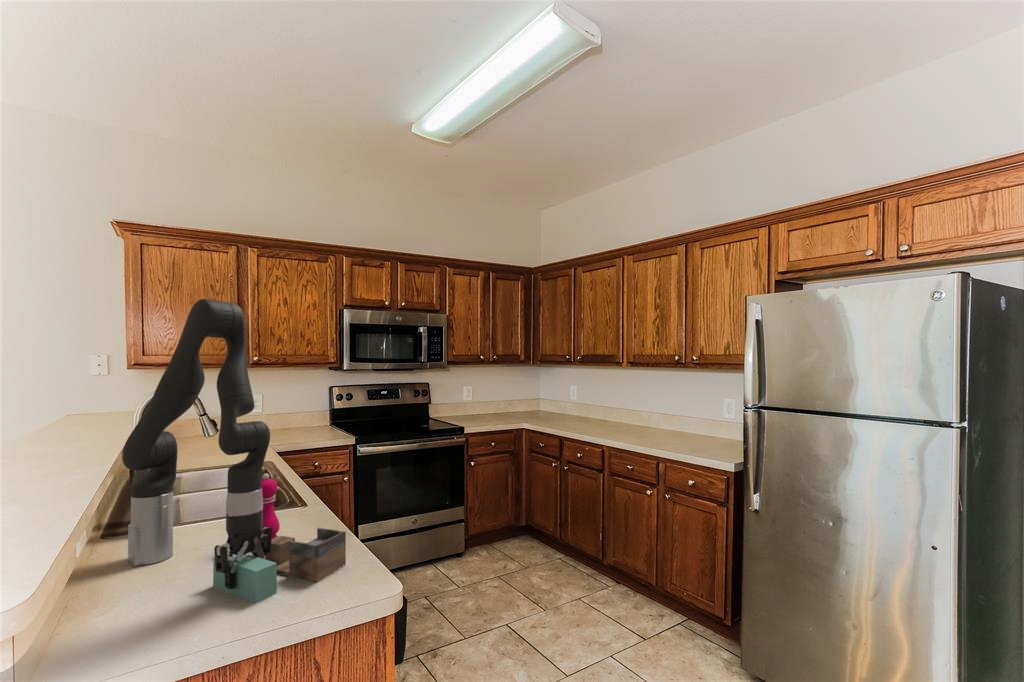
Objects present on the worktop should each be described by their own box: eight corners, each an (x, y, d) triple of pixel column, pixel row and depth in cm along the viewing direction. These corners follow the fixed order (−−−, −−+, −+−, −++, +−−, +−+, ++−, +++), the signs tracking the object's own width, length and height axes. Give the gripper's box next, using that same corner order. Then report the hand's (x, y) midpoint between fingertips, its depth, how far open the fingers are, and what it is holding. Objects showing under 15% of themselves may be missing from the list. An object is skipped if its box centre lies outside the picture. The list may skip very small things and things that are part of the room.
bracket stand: (250, 568, 128) (250, 534, 128) (281, 553, 138) (281, 522, 138) (317, 582, 121) (317, 546, 121) (345, 564, 130) (345, 531, 130)
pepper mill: (284, 539, 148) (284, 470, 148) (270, 549, 141) (270, 476, 141) (261, 538, 149) (261, 470, 149) (245, 548, 141) (246, 476, 142)
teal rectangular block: (213, 587, 119) (213, 557, 119) (233, 578, 123) (233, 549, 123) (256, 603, 111) (256, 571, 111) (276, 594, 115) (276, 563, 116)
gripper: (258, 498, 126) (257, 566, 125) (204, 516, 112) (204, 592, 112) (281, 501, 123) (281, 571, 123) (229, 520, 109) (229, 598, 109)
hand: (244, 581), depth 117 cm, fingers open, 6 cm apart
